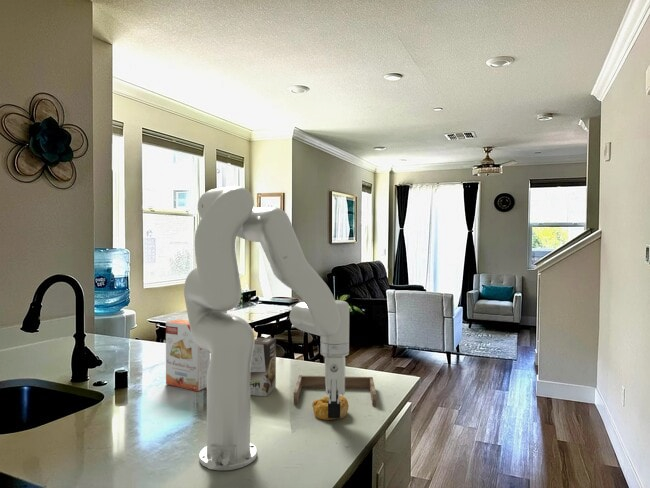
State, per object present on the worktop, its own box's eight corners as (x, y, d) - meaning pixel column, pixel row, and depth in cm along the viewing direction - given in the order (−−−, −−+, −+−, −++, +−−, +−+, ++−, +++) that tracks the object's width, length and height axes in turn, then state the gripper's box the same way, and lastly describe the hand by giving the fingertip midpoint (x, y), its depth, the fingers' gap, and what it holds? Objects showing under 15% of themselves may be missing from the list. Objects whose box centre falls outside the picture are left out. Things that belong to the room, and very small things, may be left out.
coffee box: (267, 396, 141) (267, 344, 141) (247, 395, 142) (247, 343, 142) (276, 387, 150) (276, 337, 150) (257, 385, 151) (257, 336, 151)
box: (376, 406, 134) (376, 394, 134) (293, 404, 135) (293, 392, 135) (372, 387, 150) (372, 377, 150) (298, 386, 151) (298, 375, 151)
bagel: (331, 403, 136) (331, 387, 136) (356, 416, 128) (356, 399, 127) (303, 412, 130) (303, 395, 130) (328, 425, 121) (328, 407, 121)
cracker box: (164, 385, 151) (164, 321, 150) (178, 380, 156) (178, 318, 156) (197, 392, 144) (197, 325, 144) (210, 386, 150) (210, 322, 149)
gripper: (349, 355, 114) (348, 429, 114) (349, 341, 129) (348, 406, 129) (318, 355, 114) (317, 428, 115) (322, 341, 129) (321, 406, 130)
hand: (334, 417), depth 122 cm, fingers closed
